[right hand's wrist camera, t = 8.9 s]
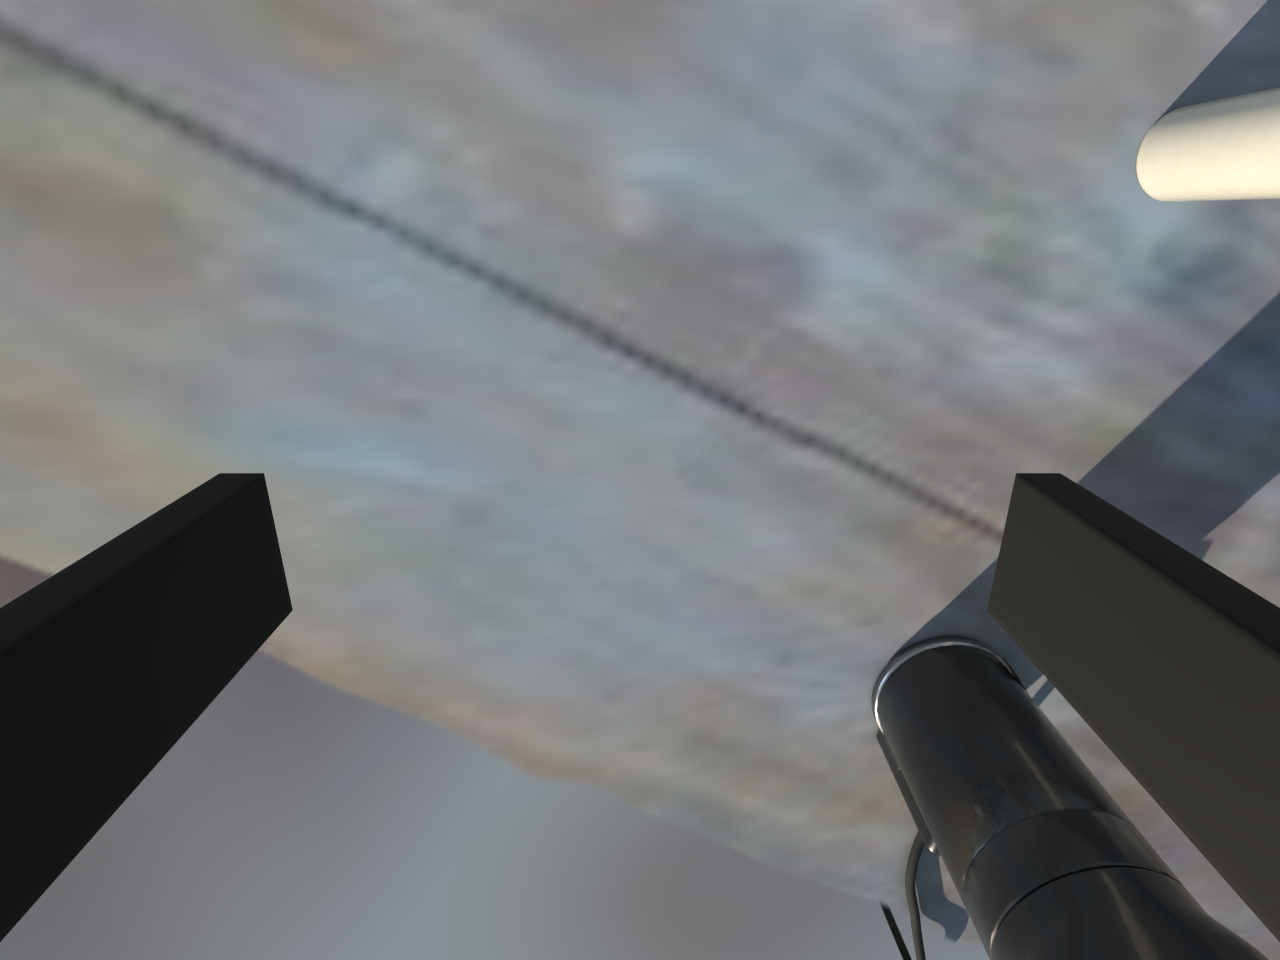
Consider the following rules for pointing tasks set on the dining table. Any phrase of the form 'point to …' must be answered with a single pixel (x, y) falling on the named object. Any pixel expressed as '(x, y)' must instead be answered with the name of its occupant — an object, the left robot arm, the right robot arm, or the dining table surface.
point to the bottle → (1215, 151)
